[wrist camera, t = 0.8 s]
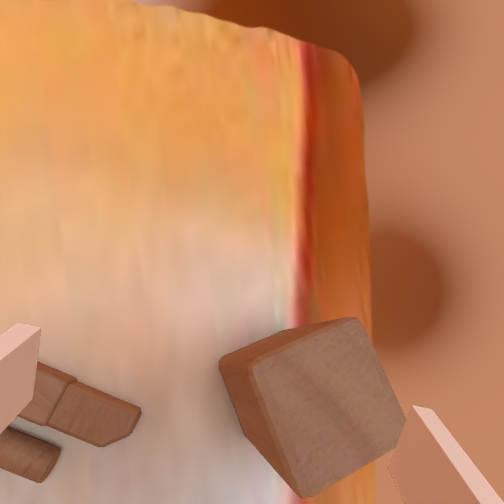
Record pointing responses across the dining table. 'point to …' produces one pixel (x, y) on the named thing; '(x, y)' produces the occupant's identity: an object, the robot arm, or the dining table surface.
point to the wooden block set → (64, 422)
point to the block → (314, 402)
